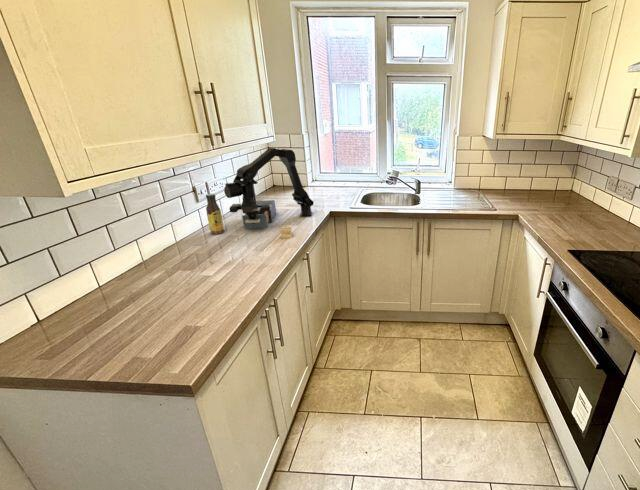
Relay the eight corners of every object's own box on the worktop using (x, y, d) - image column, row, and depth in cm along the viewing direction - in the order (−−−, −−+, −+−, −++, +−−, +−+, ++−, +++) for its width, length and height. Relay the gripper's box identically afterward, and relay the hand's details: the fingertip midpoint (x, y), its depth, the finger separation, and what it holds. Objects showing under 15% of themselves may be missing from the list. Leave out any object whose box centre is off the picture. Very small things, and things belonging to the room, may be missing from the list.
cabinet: (272, 222, 175) (270, 207, 172) (248, 223, 173) (245, 208, 170) (276, 213, 189) (274, 200, 185) (254, 214, 186) (251, 201, 183)
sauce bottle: (218, 235, 157) (210, 196, 149) (207, 234, 158) (198, 195, 150) (227, 230, 163) (220, 193, 155) (217, 229, 164) (209, 192, 156)
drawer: (265, 230, 161) (263, 218, 159) (241, 231, 159) (239, 219, 157) (272, 218, 178) (270, 207, 175) (250, 219, 176) (248, 208, 173)
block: (282, 235, 158) (281, 226, 157) (292, 234, 159) (291, 226, 158) (281, 238, 154) (280, 230, 153) (291, 237, 155) (289, 229, 154)
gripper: (223, 198, 147) (229, 230, 152) (265, 197, 150) (270, 228, 156) (230, 192, 157) (236, 222, 163) (269, 191, 160) (274, 220, 166)
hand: (253, 223), depth 161 cm, fingers closed, pressing on drawer
